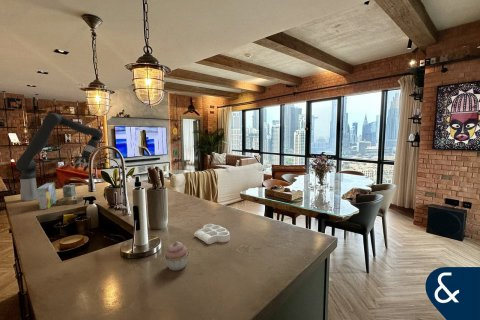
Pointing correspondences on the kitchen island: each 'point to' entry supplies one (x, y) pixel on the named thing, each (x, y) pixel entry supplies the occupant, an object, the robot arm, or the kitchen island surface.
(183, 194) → the kitchen island surface
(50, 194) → the snack box
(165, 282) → the kitchen island surface
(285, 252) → the kitchen island surface
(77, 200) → the dock
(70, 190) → the pallet crate
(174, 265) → the cupcake
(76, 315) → the kitchen island surface
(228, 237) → the white paint palette
